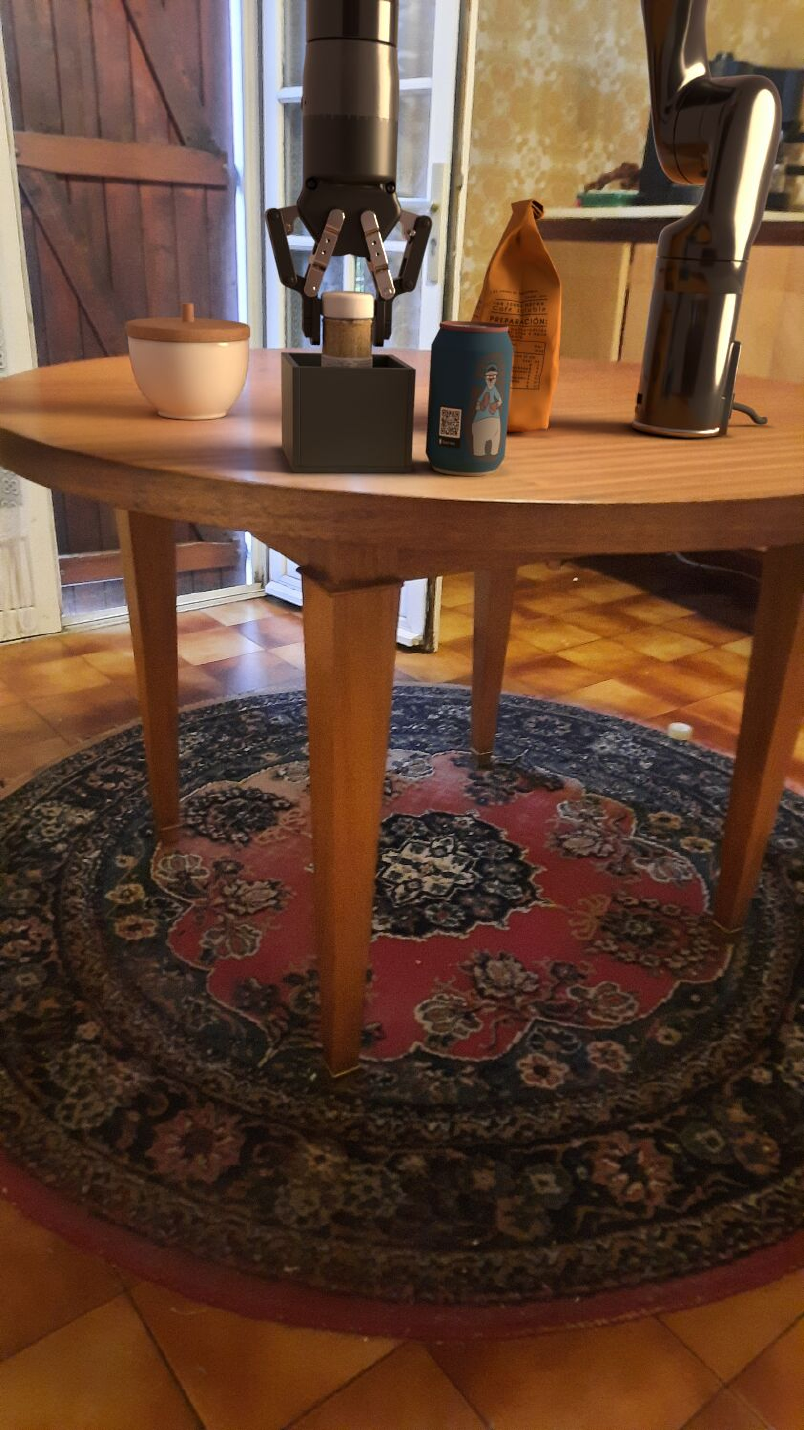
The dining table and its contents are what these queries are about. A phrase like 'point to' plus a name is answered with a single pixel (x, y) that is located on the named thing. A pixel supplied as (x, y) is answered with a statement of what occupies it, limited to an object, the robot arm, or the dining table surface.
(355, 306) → the sprinkles bottle
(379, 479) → the dining table surface
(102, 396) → the dining table surface
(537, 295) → the coffee package
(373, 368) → the storage bin
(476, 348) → the soda can
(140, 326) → the lidded bowl
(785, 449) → the dining table surface
